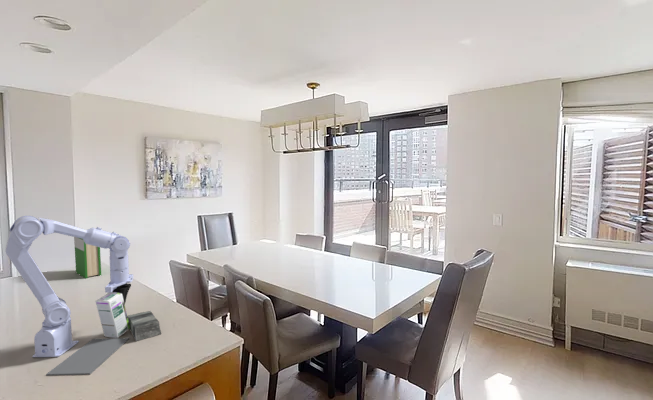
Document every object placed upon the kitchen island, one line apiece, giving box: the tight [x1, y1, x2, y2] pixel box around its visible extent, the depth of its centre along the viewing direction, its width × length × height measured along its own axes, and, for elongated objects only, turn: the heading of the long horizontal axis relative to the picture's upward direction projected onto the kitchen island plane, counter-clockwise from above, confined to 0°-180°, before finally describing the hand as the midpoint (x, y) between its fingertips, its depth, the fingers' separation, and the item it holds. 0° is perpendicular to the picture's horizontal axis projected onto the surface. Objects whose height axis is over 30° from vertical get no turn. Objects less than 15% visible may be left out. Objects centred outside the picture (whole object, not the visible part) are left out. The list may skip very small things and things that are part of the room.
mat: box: [45, 337, 130, 376], centre depth 105 cm, size 20×12×1 cm, turn 3°
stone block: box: [127, 310, 162, 342], centre depth 122 cm, size 9×14×5 cm, turn 39°
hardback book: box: [73, 237, 102, 279], centre depth 190 cm, size 18×7×24 cm, turn 50°
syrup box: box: [95, 292, 130, 338], centre depth 117 cm, size 6×6×14 cm
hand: (121, 305), depth 121 cm, fingers closed
